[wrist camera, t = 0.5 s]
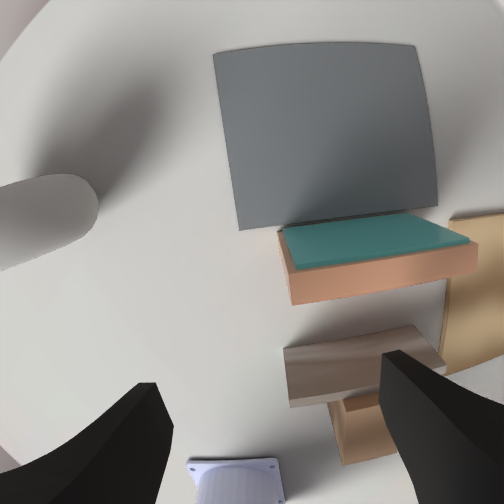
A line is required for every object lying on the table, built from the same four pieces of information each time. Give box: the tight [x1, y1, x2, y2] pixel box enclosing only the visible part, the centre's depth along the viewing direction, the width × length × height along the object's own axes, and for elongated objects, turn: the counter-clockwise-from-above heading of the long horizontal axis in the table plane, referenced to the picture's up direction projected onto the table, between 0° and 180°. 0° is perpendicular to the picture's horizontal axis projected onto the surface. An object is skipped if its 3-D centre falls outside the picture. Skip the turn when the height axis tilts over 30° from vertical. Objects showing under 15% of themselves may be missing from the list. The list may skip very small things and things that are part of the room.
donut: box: [0, 174, 99, 271], centre depth 13 cm, size 10×4×10 cm, turn 102°
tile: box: [277, 213, 479, 306], centre depth 14 cm, size 1×8×7 cm, turn 98°
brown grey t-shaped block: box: [283, 325, 447, 465], centre depth 17 cm, size 6×9×6 cm, turn 98°
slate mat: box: [213, 43, 438, 231], centre depth 16 cm, size 10×12×1 cm
